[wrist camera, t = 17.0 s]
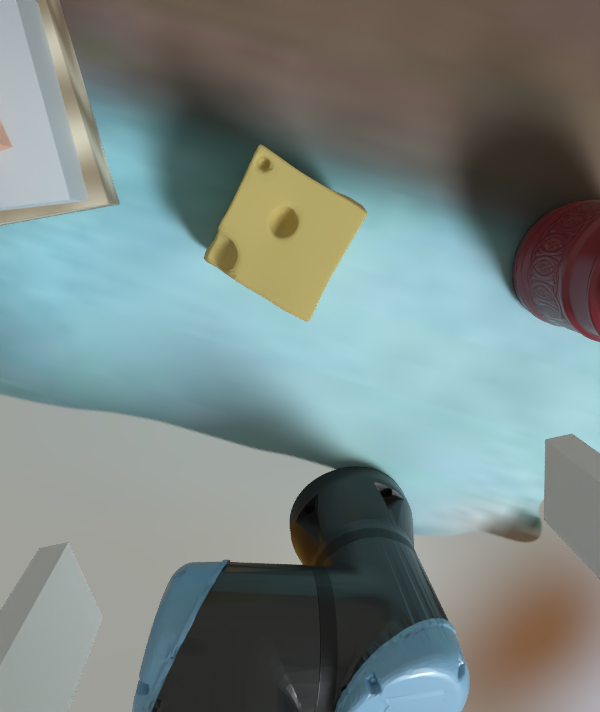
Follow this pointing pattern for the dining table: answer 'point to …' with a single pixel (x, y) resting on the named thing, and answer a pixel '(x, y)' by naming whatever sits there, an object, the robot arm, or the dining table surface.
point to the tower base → (72, 126)
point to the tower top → (33, 116)
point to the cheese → (284, 234)
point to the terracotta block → (4, 139)
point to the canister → (562, 268)
